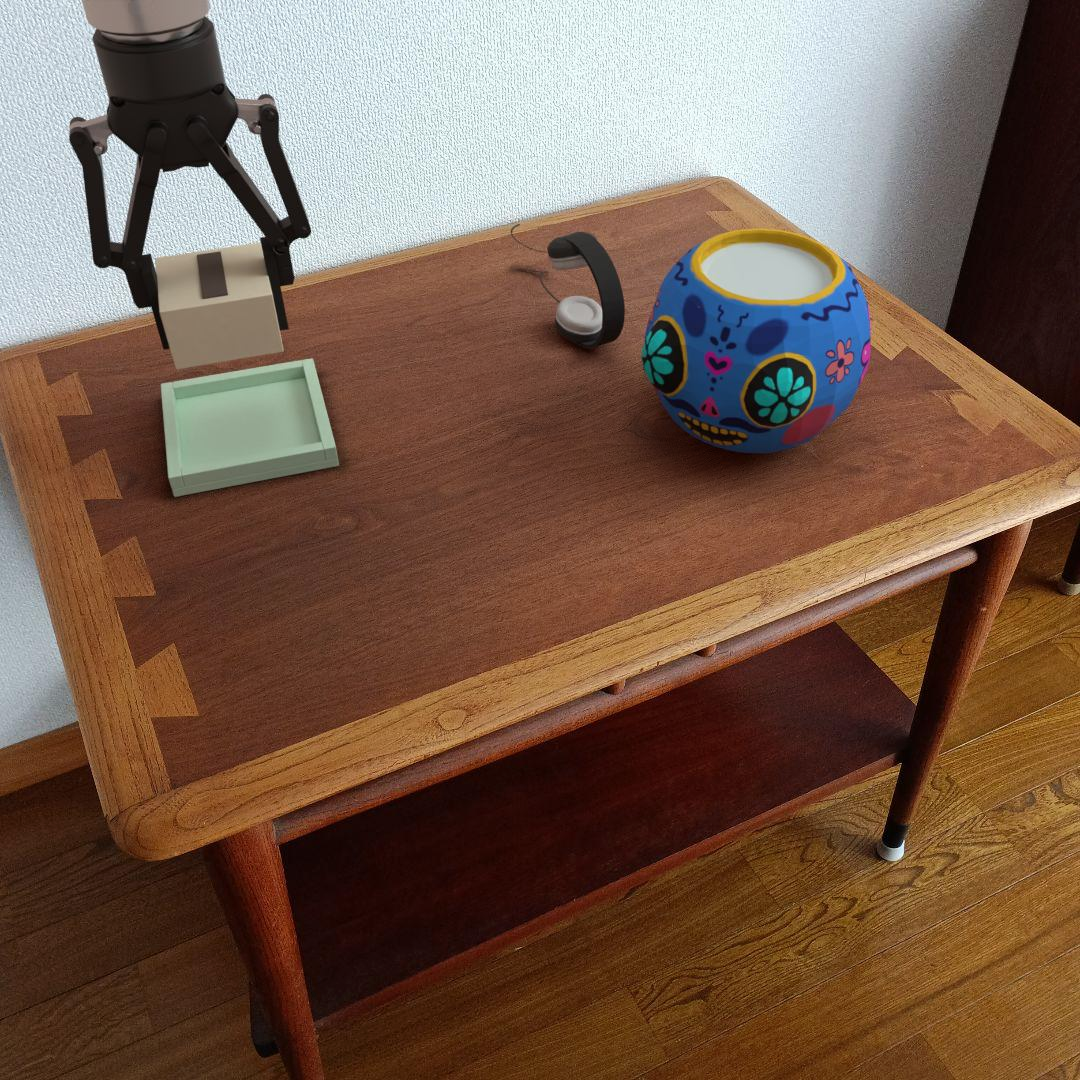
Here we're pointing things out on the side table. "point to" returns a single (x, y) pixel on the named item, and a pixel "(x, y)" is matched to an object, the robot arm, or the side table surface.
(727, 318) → the ceramic pot
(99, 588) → the side table surface
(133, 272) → the robot arm
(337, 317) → the side table surface
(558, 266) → the headphones
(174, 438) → the shallow tray
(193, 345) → the beige block
